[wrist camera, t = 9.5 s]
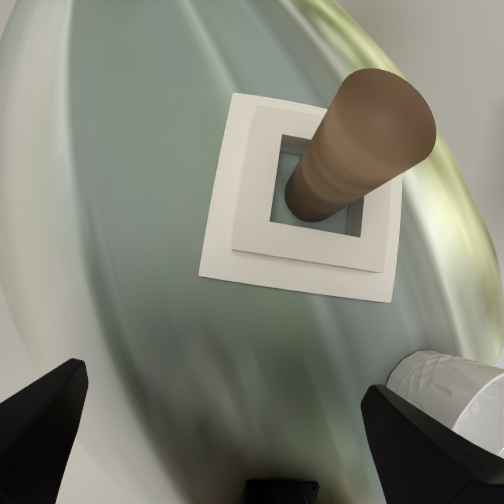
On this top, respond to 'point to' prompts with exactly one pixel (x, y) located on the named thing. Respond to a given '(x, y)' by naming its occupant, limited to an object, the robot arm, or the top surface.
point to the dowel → (361, 144)
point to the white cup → (455, 395)
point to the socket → (287, 236)
